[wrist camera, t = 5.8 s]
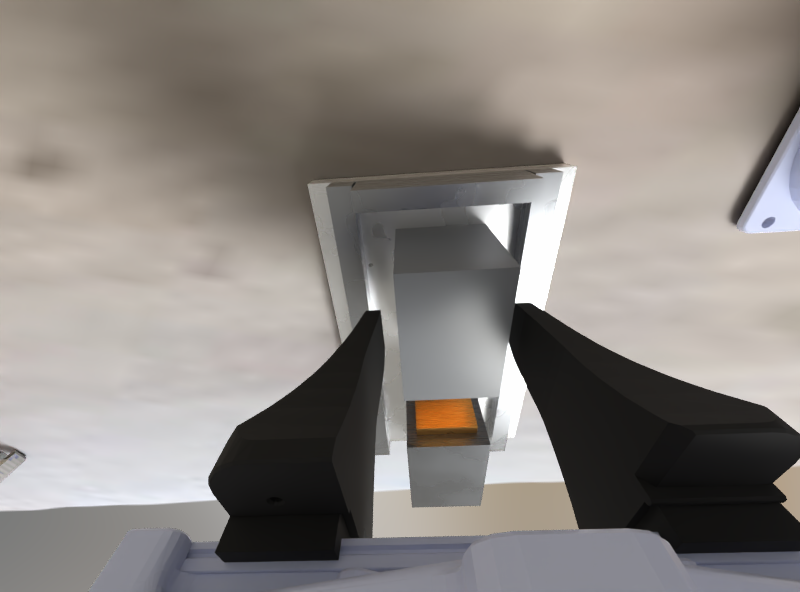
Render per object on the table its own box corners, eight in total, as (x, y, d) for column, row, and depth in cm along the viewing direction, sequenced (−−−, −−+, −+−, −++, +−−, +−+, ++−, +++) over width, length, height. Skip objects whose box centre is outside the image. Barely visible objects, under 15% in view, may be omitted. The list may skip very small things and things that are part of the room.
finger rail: (565, 163, 13) (663, 188, 8) (509, 424, 22) (539, 508, 17) (313, 180, 13) (263, 213, 8) (364, 429, 22) (354, 512, 17)
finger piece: (485, 223, 13) (520, 267, 9) (475, 337, 16) (498, 405, 12) (395, 228, 13) (393, 274, 9) (403, 341, 16) (404, 408, 13)
